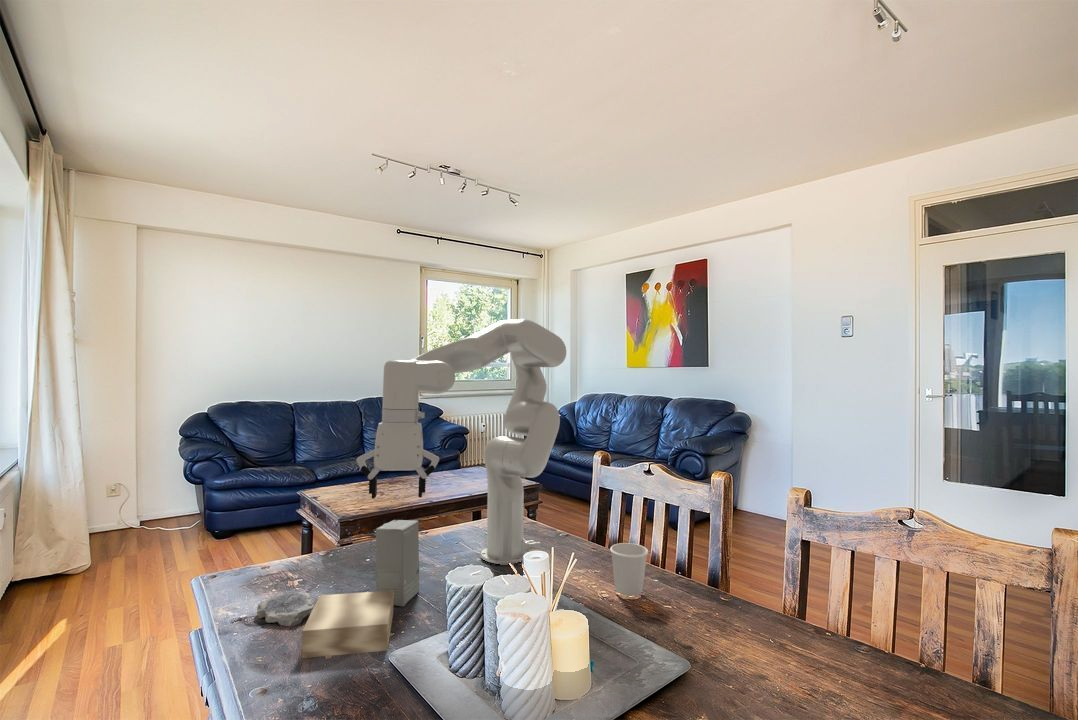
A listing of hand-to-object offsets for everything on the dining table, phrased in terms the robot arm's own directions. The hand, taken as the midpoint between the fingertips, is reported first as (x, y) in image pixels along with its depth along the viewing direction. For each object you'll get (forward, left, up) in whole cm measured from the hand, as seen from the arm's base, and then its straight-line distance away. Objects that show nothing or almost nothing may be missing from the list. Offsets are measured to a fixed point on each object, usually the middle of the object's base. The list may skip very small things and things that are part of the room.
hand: (397, 496), depth 112 cm
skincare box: (0, 0, -22) cm, 22 cm away
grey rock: (+21, +4, -22) cm, 31 cm away
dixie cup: (-50, +7, -22) cm, 55 cm away
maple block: (+7, +14, -22) cm, 27 cm away
